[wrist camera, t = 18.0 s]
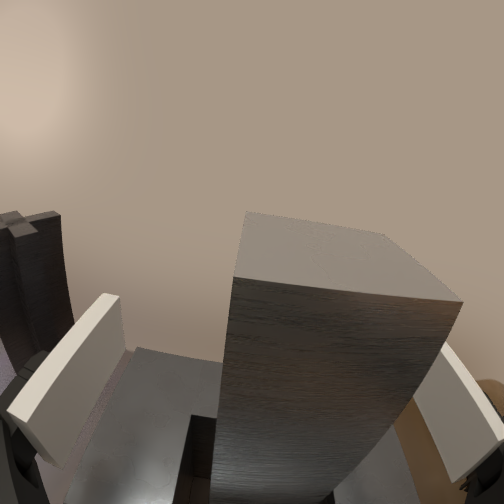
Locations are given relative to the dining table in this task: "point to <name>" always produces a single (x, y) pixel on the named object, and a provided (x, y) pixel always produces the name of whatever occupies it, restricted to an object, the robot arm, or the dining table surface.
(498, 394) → the dining table surface
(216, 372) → the bore block
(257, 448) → the square bit
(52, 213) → the cross bit
